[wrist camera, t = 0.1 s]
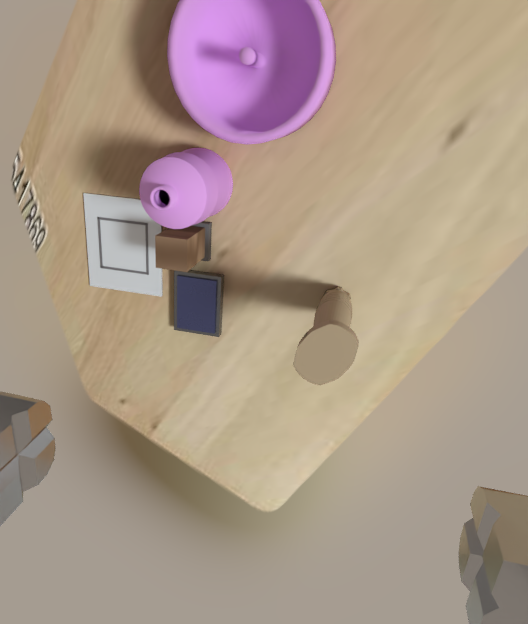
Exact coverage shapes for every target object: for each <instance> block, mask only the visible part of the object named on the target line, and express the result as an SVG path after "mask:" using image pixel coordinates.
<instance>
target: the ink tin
mask: <svg viewBox="0 0 528 624" xmlns="http://www.w3.org/2000/svg"><path fill="white" fill-rule="evenodd" d="M223 279H224V275H222V274H214V273H207V272H200V271H193V270H189V271H188V272H183V271H176V270H174V330H179V331H185V332H191V333H197V334H204V335H210V336H216V337H219V336H220V335H221V327H222V303H223Z"/></svg>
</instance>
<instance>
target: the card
mask: <svg viewBox="0 0 528 624" xmlns="http://www.w3.org/2000/svg"><path fill="white" fill-rule="evenodd" d="M83 195H84V209H85V223H86V237H87V251H88V265H89V280H90V286H95V287H101V288H108V289H115V290H121V291H128V292H135V293H141V294H148V295H155V296H161V297H162V269H161V268H156V254H155V235H157V234H159V233H161V232H162V225H160V224H158V223H157V222H155V221H154V220H153V219H152V218H150V217H149V215H148V214H147V213H146V211H145V210H144V208H143V206H142V203H141V200H140V199H133V198H124V197H115V196H107V195H98V194H90V193H83Z"/></svg>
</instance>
